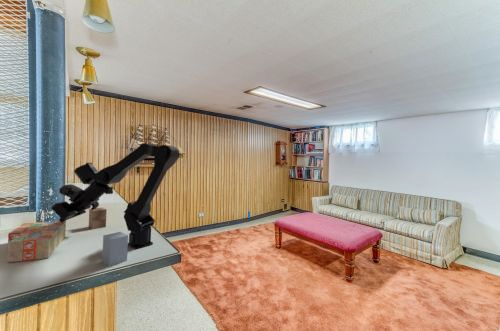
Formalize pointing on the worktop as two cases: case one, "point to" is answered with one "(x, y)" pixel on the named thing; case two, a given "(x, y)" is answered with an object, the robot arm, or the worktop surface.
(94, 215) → the walnut block
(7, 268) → the worktop surface
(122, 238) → the slate-blue block
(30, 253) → the stack of blocks
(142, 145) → the robot arm
